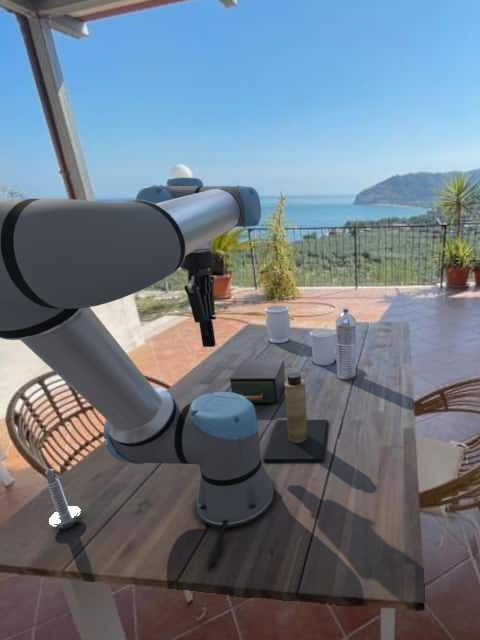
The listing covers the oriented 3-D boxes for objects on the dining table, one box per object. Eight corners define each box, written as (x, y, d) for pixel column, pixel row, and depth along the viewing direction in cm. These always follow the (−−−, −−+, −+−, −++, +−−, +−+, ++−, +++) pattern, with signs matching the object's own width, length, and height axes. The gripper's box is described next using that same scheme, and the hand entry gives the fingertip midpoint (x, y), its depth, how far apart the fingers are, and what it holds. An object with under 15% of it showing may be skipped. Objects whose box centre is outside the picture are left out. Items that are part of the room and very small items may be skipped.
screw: (88, 514, 78) (73, 533, 73) (62, 515, 77) (46, 535, 73) (70, 460, 73) (53, 477, 69) (43, 461, 73) (24, 478, 68)
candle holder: (341, 360, 154) (340, 331, 150) (326, 368, 146) (325, 338, 142) (321, 355, 159) (320, 327, 154) (306, 362, 151) (304, 333, 147)
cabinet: (277, 403, 121) (275, 378, 118) (233, 403, 121) (230, 378, 117) (285, 381, 135) (283, 358, 132) (246, 381, 135) (243, 359, 132)
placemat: (322, 461, 94) (322, 458, 94) (264, 461, 94) (263, 459, 93) (326, 421, 111) (326, 419, 110) (277, 422, 110) (277, 419, 110)
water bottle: (353, 381, 136) (353, 312, 127) (334, 379, 137) (333, 310, 128) (357, 373, 142) (357, 306, 133) (339, 371, 143) (338, 305, 134)
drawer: (271, 409, 115) (269, 388, 113) (229, 409, 115) (227, 389, 113) (282, 382, 133) (280, 363, 130) (246, 382, 133) (243, 364, 130)
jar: (263, 343, 172) (260, 310, 166) (272, 336, 181) (269, 304, 176) (286, 345, 170) (284, 311, 164) (294, 337, 179) (292, 305, 174)
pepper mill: (306, 442, 100) (302, 379, 93) (287, 442, 100) (282, 379, 93) (308, 432, 104) (305, 370, 98) (289, 432, 104) (285, 370, 98)
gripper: (190, 247, 96) (203, 337, 105) (166, 254, 84) (184, 355, 92) (220, 247, 96) (231, 337, 105) (201, 254, 84) (215, 355, 93)
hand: (209, 345), depth 99 cm, fingers closed
